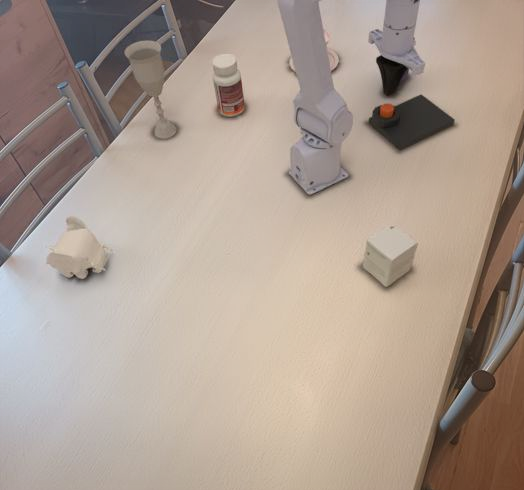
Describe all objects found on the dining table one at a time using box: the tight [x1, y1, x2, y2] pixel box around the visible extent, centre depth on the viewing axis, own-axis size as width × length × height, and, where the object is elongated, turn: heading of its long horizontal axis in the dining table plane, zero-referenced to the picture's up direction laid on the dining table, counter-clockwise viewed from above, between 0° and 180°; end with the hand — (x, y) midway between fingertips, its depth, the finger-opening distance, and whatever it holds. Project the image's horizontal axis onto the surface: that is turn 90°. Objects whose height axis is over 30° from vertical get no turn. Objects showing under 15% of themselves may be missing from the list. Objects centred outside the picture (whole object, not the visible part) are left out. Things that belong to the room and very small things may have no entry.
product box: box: [362, 222, 419, 288], centre depth 85 cm, size 6×6×7 cm
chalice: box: [124, 40, 178, 139], centre depth 105 cm, size 7×7×18 cm
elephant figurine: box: [45, 215, 116, 280], centre depth 90 cm, size 10×12×9 cm
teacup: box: [288, 28, 340, 73], centre depth 119 cm, size 12×12×6 cm
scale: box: [368, 94, 455, 151], centre depth 106 cm, size 14×11×3 cm
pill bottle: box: [212, 53, 245, 118], centre depth 110 cm, size 6×6×11 cm
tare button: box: [380, 103, 395, 118], centre depth 105 cm, size 3×3×2 cm
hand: (389, 92), depth 101 cm, fingers closed
